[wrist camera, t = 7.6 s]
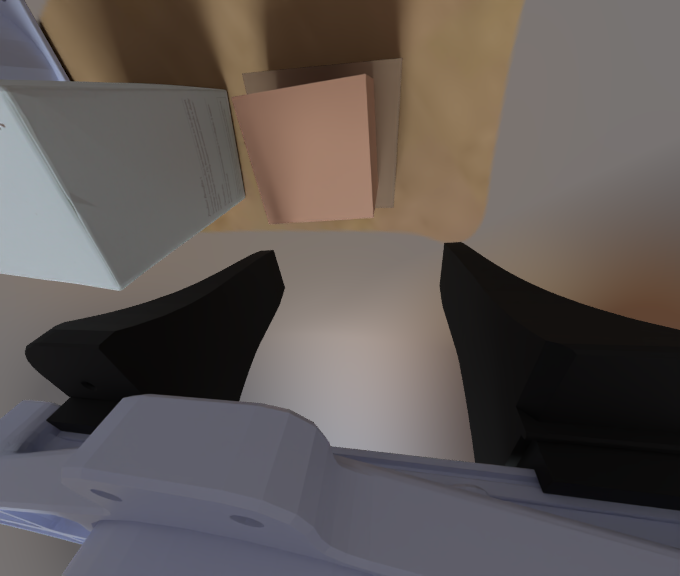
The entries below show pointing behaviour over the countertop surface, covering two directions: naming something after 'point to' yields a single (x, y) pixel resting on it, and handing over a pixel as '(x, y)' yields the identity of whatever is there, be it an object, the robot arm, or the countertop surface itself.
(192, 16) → the countertop surface
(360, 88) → the terracotta cube
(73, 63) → the countertop surface
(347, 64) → the walnut slab
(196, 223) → the supplement box
